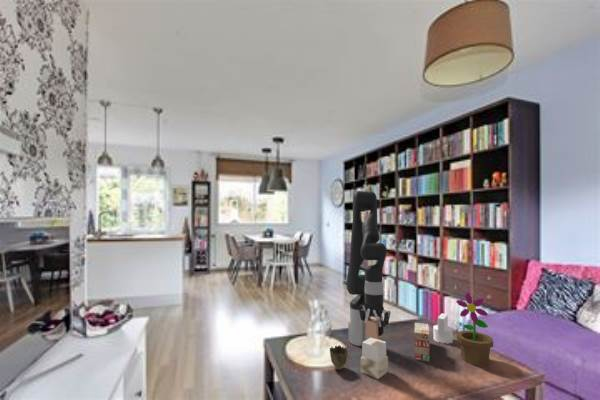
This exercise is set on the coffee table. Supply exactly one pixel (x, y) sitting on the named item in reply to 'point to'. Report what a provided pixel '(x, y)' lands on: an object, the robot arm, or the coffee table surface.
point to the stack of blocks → (422, 342)
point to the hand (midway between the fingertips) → (374, 333)
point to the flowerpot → (474, 335)
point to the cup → (338, 356)
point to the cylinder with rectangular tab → (443, 330)
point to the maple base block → (374, 367)
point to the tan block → (372, 328)
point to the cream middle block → (374, 349)
